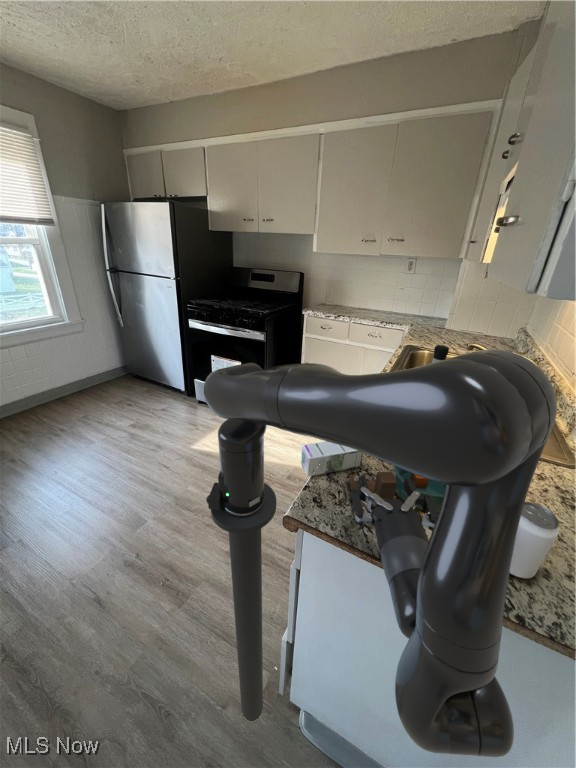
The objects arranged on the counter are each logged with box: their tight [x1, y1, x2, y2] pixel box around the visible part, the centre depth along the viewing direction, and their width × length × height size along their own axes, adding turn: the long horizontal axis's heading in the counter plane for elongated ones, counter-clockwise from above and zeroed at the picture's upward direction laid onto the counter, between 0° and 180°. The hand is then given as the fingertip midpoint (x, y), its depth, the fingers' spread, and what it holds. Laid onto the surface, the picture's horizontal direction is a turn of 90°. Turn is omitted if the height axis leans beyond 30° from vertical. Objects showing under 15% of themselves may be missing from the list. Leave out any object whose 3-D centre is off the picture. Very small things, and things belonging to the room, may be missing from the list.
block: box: [410, 473, 429, 488], centre depth 73 cm, size 3×3×3 cm
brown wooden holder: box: [348, 471, 397, 513], centre depth 66 cm, size 12×8×11 cm
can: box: [509, 501, 560, 579], centre depth 54 cm, size 6×6×12 cm
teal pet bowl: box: [391, 466, 446, 513], centre depth 72 cm, size 14×14×5 cm
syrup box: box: [300, 441, 364, 477], centre depth 78 cm, size 6×6×14 cm
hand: (384, 479), depth 62 cm, fingers open, 8 cm apart
